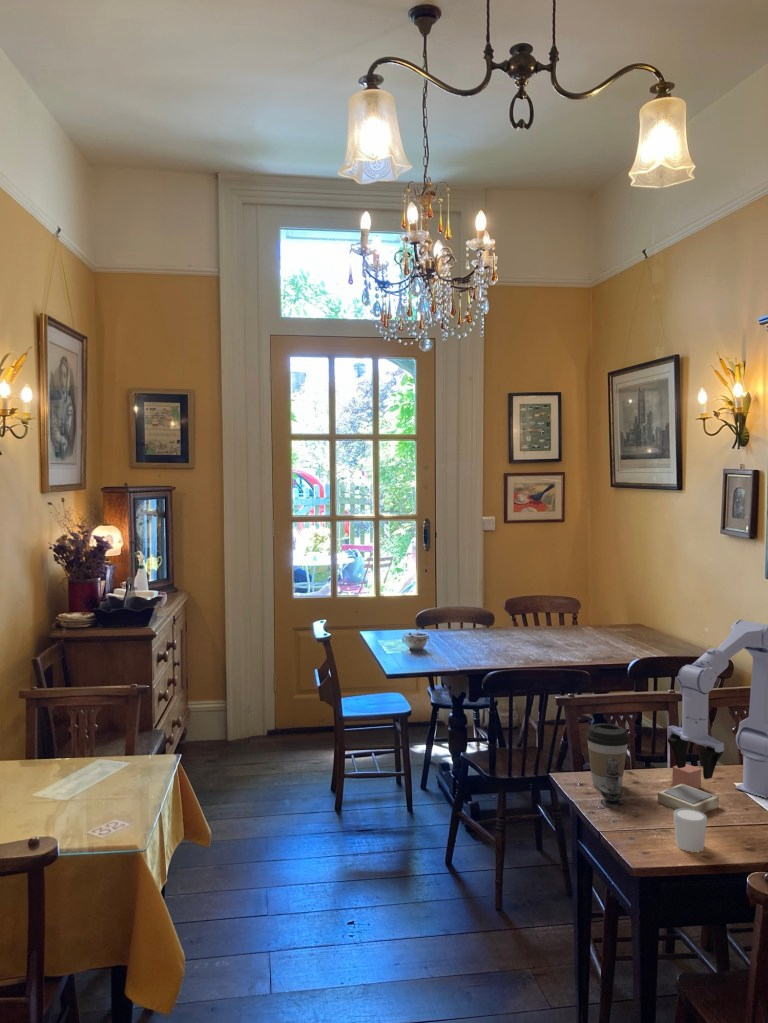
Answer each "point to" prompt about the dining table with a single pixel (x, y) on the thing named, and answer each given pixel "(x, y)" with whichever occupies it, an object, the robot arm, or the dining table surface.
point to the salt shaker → (612, 785)
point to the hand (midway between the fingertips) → (694, 772)
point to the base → (688, 798)
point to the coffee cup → (606, 750)
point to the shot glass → (690, 829)
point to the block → (687, 776)
